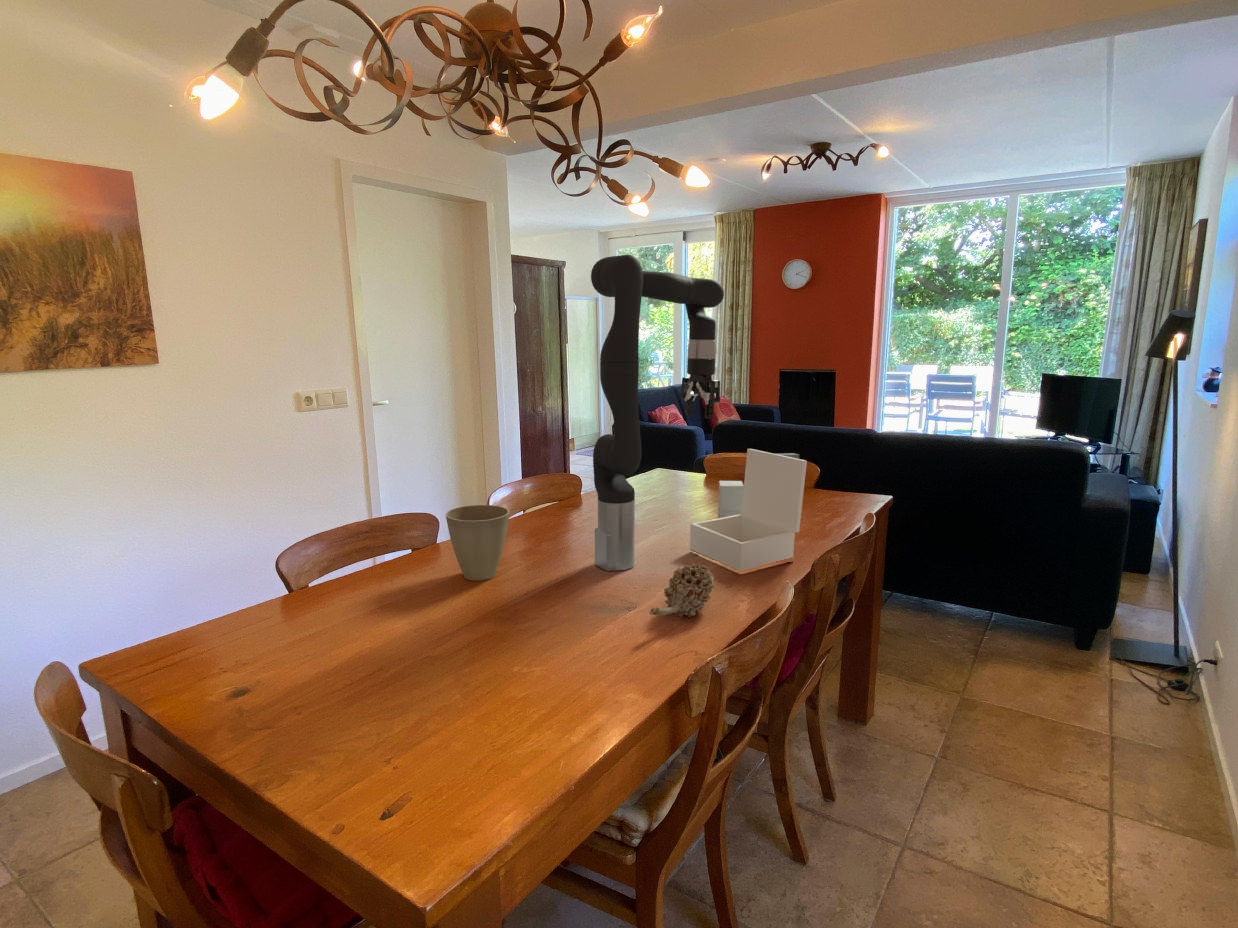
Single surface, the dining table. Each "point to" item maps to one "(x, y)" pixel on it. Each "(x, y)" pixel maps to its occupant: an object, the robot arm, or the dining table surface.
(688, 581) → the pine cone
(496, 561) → the plant pot
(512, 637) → the dining table surface
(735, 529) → the mailer box
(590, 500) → the dining table surface
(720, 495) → the supplement box
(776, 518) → the mailer lid
